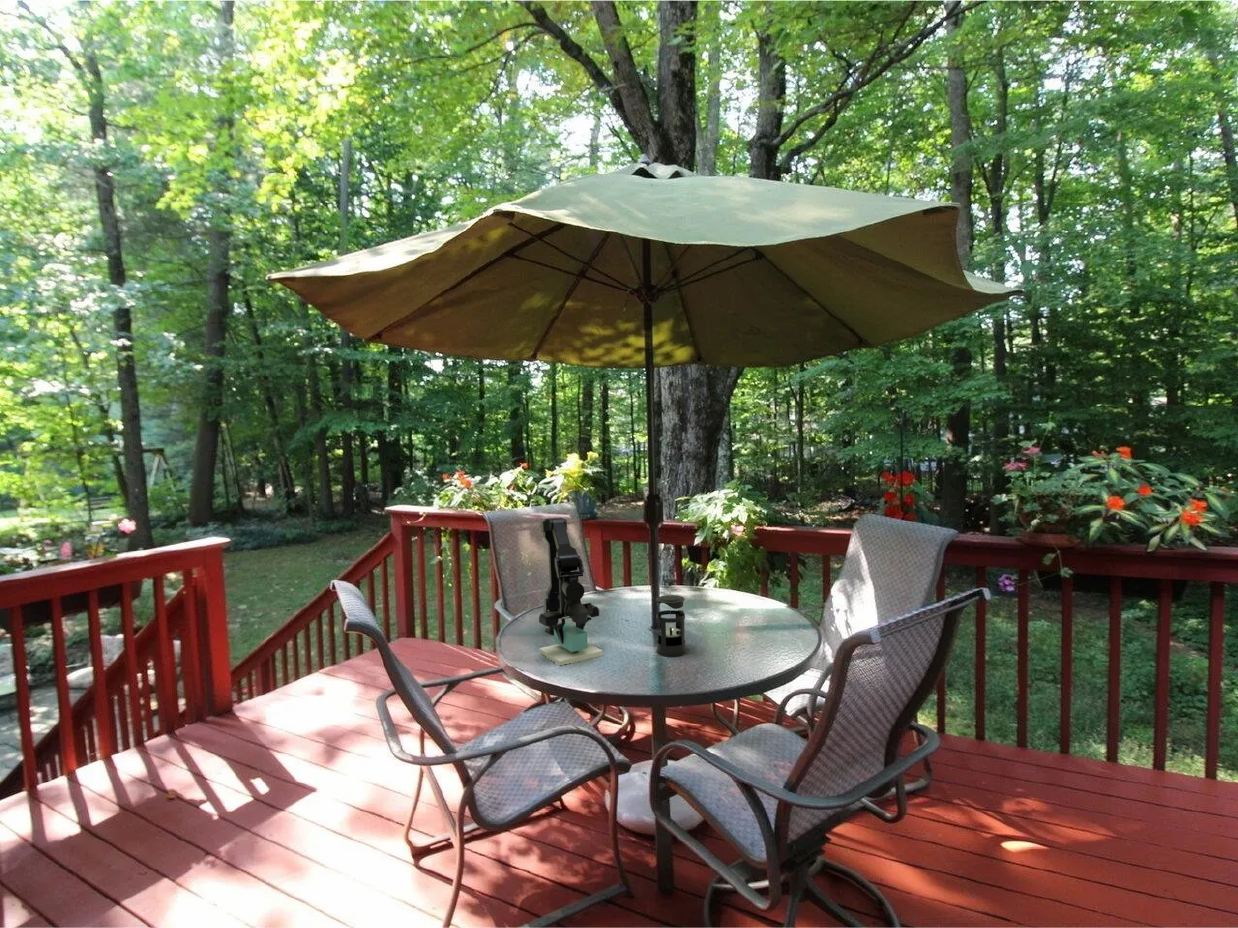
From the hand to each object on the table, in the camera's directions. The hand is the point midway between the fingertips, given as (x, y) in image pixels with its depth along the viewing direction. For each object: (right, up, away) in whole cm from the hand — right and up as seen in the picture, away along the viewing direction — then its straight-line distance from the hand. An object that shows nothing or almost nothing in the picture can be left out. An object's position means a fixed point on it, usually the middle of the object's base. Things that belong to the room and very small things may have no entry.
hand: (570, 641), depth 208 cm
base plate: (0, -4, 0) cm, 4 cm away
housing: (0, -1, 0) cm, 1 cm away
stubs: (0, -3, 0) cm, 2 cm away
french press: (+32, -3, 0) cm, 32 cm away
